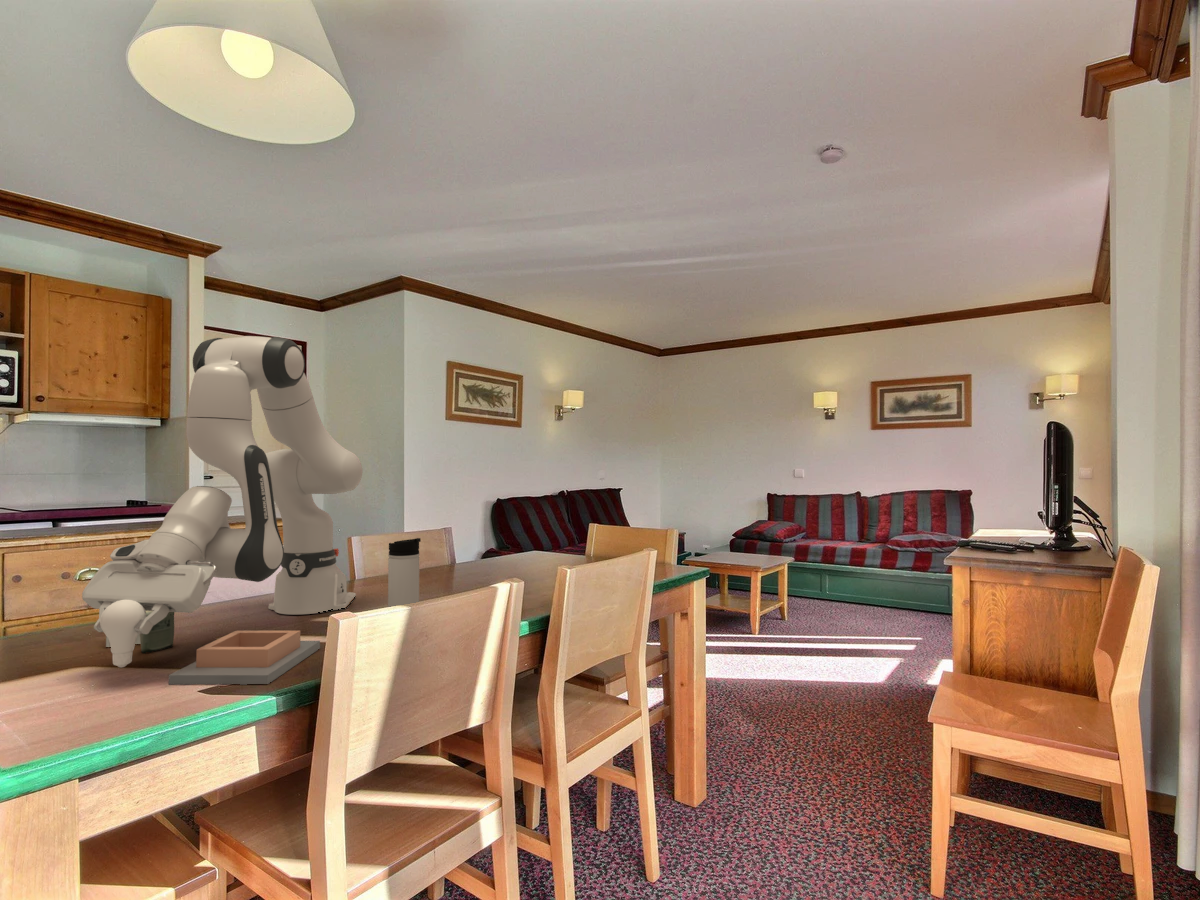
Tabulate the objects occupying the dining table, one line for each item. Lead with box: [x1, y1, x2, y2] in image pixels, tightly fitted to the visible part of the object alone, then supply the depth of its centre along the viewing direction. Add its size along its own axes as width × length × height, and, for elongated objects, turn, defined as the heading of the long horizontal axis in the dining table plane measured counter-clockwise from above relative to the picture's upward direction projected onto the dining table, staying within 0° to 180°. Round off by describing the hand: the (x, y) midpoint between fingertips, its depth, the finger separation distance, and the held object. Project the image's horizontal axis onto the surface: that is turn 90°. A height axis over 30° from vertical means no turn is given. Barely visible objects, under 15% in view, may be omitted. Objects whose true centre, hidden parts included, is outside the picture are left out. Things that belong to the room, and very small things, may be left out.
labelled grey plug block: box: [140, 611, 175, 654], centre depth 124 cm, size 6×5×8 cm
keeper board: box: [168, 630, 321, 686], centre depth 115 cm, size 20×16×4 cm
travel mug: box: [387, 537, 422, 608], centre depth 136 cm, size 6×7×20 cm
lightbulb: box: [100, 600, 146, 668], centre depth 106 cm, size 6×6×11 cm
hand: (119, 631), depth 105 cm, fingers closed on lightbulb, 6 cm apart
